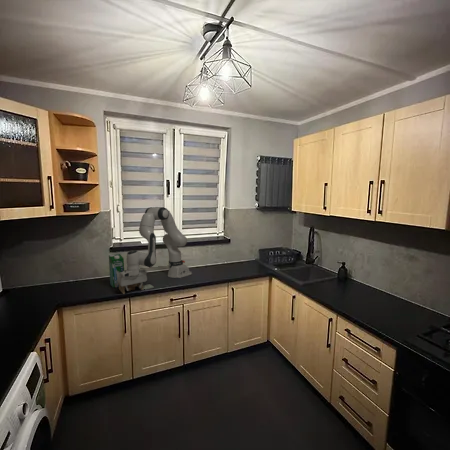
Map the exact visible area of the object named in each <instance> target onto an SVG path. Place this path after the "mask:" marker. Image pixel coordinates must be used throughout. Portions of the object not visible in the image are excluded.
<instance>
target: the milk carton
mask: <svg viewBox="0 0 450 450" xmlns="http://www.w3.org/2000/svg"><path fill="white" fill-rule="evenodd" d="M124 260H125V258H124V257H123V256H122V254H121V253H117V254H110V255H108V264H109V265H108V266H109V268H108V269H109V281H110V282H109V284H110V285H109V286H111V287H112V288H119V281H120V277H121V272H123V271H125V261H124Z"/></svg>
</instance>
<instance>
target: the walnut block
mask: <svg viewBox="0 0 450 450" xmlns="http://www.w3.org/2000/svg"><path fill="white" fill-rule="evenodd" d="M127 288H129V291H128V292H131V290H132V291H135V290H136V286H135V284H132V285H127Z"/></svg>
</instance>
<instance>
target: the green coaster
mask: <svg viewBox="0 0 450 450" xmlns="http://www.w3.org/2000/svg"><path fill="white" fill-rule="evenodd" d="M153 288H155V287H154V286H153V285H152V284H150V283H149V284H143V290H144V289H145V290H149V289H153Z"/></svg>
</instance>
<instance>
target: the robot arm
mask: <svg viewBox="0 0 450 450" xmlns="http://www.w3.org/2000/svg"><path fill="white" fill-rule="evenodd" d="M174 219H175V218H174V217H173V215H172V213H171V211H170V210H169V209H168V208H166V207H161V206H155V207H154V206H153V207H148V208H146V209H145V211H144V213H143V214H142V217H141V219H140V222H139V228H138V229H139V230H138V233H139V235H140V236H141V237H142V238H143V239H145V240H146V241H147V253H145V252H140V251H138V250H137V249H135V250H134V249H132V250H129V251H128V252H127V253H126V269H124V271H123V272H121V277H120V281H119V284H120V286H125V290H126V291H125V292H130V291H129V288H127V285H132V284H137V283H141V284H140V285H139V287H138V289H140V288H141V286H142V284H143V285H144V283H146V282H147V281H148V276H147V273H148V271H147V270H146V269H143V270H140V266H144V267H146V268H152V267H154V266H155V264H156V263H157V255H156V254H157V253H156V252H157V237H156V234H155V222H156V221H160V222H161V225H162V228H163V231H164V232H165V234H164V235H163V237H162V242H163V244H165V246H166V248H167V251H168V272H167V277H168V278H173V279H174V278H175V279H176V278H178V279H182V278H184V277H188V276H190V275H193V273H192V271H190V268H189V266H187V265H186V264H185V263H186V261H185V260H182V252H181V250H180V249H179V247H185V246H186V245H187V243H188V238H187V237H186V236H185V235H184V234H183V233H182V232H181V231H180V229H178V226H177V224H176V222H175V220H174Z"/></svg>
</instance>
